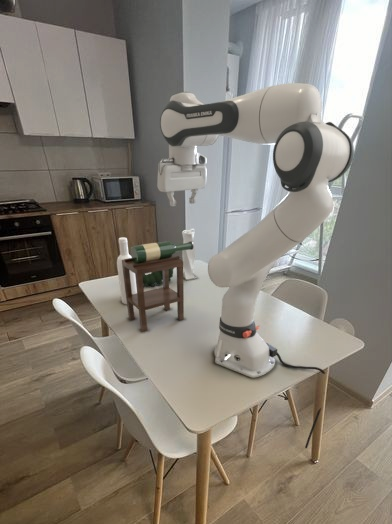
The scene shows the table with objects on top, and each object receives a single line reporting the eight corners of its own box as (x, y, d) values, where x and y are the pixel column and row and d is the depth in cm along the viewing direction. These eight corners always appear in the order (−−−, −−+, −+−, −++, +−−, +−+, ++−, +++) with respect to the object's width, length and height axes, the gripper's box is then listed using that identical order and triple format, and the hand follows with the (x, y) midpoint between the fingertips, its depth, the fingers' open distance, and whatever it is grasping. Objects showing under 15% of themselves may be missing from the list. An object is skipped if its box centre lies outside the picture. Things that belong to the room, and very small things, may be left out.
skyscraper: (198, 279, 173) (199, 228, 158) (185, 281, 170) (185, 229, 155) (192, 274, 180) (193, 225, 164) (180, 276, 177) (179, 226, 161)
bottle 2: (195, 255, 124) (195, 239, 121) (138, 265, 112) (137, 248, 108) (187, 251, 129) (187, 235, 125) (131, 261, 116) (129, 244, 112)
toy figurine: (142, 294, 158) (182, 281, 169) (135, 259, 147) (178, 247, 157) (134, 288, 165) (173, 276, 175) (128, 254, 154) (170, 243, 164)
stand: (183, 319, 132) (183, 258, 117) (142, 331, 122) (136, 267, 107) (167, 307, 141) (165, 249, 126) (128, 318, 132) (121, 257, 117)
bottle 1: (134, 305, 143) (127, 241, 126) (119, 304, 144) (110, 239, 127) (140, 298, 149) (134, 236, 133) (125, 297, 150) (118, 235, 134)
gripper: (165, 158, 89) (166, 208, 97) (210, 158, 102) (208, 203, 109) (151, 157, 93) (154, 206, 101) (196, 157, 105) (196, 201, 113)
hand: (182, 204), depth 105 cm, fingers open, 8 cm apart
